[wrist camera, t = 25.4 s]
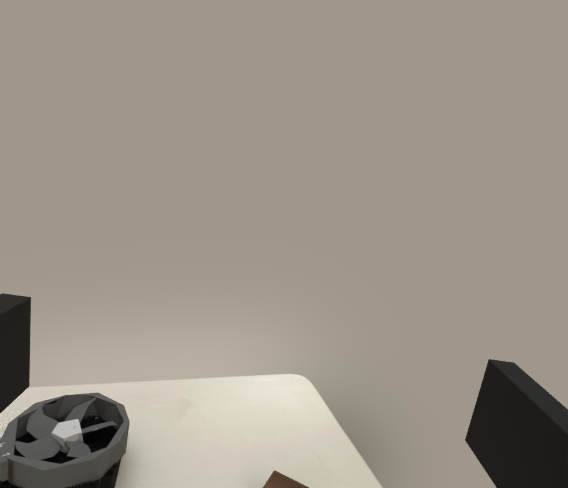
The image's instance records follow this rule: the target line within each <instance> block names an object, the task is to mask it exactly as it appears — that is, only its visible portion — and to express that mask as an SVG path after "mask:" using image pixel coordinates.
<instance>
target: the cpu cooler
mask: <svg viewBox="0 0 568 488" xmlns="http://www.w3.org/2000/svg"><path fill="white" fill-rule="evenodd" d="M128 429H129V419H128V416H127V413H126V410H125V407H124V405H122V404H120V403H118V402H116V401H114V400H112V399H110V398H108V397H106V396H104V395H102V394H100V393H89V394H76V395H65V396H61V397H57V398H53V399H49V400H45V401H42V402H38V403H35V404H33V405H32V406H31V407H29V408H28V409H27V410H26V411H24V412H23V413H22V414H20V415H19V416H18V417H16V418H15V419H14V420H12V421H11V422H10V423H9V424H8V426H7V428H6V430H5V432H4V434H3V436H2V438H1V439H0V488H114V487H115V482H116V478H117V474H118V469H119V465H120V461H121V457H122V456H123V455H124V454H125V453H126V445H127V437H128Z"/></svg>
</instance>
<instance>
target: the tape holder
mask: <svg viewBox="0 0 568 488" xmlns="http://www.w3.org/2000/svg"><path fill="white" fill-rule="evenodd" d="M263 488H309V487H307V486H305V485H303V484H301V483H299V482H297V481H295V480H293V479H291V478H289V477H287V476H285V475H283V474H281V473H279V472H277V471H274V472H273V473H272V475H271V476H270V478H269V479H268V481H267V482H266V484H265V485H264V487H263Z"/></svg>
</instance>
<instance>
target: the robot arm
mask: <svg viewBox="0 0 568 488" xmlns="http://www.w3.org/2000/svg"><path fill="white" fill-rule="evenodd" d="M30 312H31V297H24V296H16V295H10V294H0V413H1V412H2V411H3V410H4V409H6V408H7V407H8V406H9V405H10V404H11V403H12V402H13V401H14V400H15V399H16V398H17V397H18V396H19V395H20V394H22V393H23V392H24V391H25V390H26V389H27V388H28V387H29V370H30V368H29V367H30V314H31V313H30ZM465 441H466V442H467V444H468V445H469V447H470V448H471V450H472V451H473V452H474V454H475V456H476V457H477V459H478V460H479V462H480V463H481V465H482V466H483V467H484V469H485V471H486V472H487V474H488V475H489V477H490V478H491V480H492V481H493V483H494V484H495V485H496V487H497V488H568V409H566V408H565V407H564V406H563V405H562V404H561V403H560V402H558V401H557V400H556V399H555V398H554V397H553V396H552V395H550V394H549V393H548V392H547V391H546V390H545V389H544V388H542V387H541V386H540V385H539V384H538V383H537V382H535V381H534V380H533V379H532V378H531V377H530V376H529V375H527V374H526V373H525V372H524V371H523V370H522V369H521V368H519V367H518V366H517V365H516V364H515V363H512V362H505V361H498V360H490V359H489V361H488V364H487V367H486V371H485V374H484V378H483V381H482V384H481V388H480V391H479V395H478V398H477V402H476V405H475V409H474V412H473V415H472V419H471V422H470V425H469V429H468V433H467V436H466V439H465Z"/></svg>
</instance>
